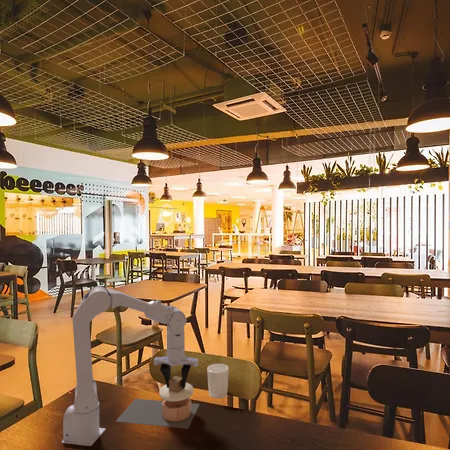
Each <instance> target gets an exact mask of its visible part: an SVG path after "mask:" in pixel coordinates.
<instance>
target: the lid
mask: <svg viewBox="0 0 450 450" xmlns="http://www.w3.org/2000/svg"><path fill="white" fill-rule="evenodd" d="M158 392H159V397H160V398H161V399H162V401H164V400H166V401H172V402H175V401H182V400H185V399H187V398H191V396H193V394H194V387H193V384H190V383H188V382H186V386H185V388H184V389H182V376H177V375H174V376H173V377H171V379H170V380H169V388H167V385H166V384H164V385H163V386H161V388H160V389H159V391H158Z"/></svg>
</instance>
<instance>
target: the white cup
mask: <svg viewBox="0 0 450 450" xmlns="http://www.w3.org/2000/svg"><path fill="white" fill-rule="evenodd" d="M229 369H230V368H229V366H228V365H227V364H224V363H213V364H210V365H208V366H207V369H206V370H207V371H206V372H207V384H208V395H209V397H211V398H213V399H223V398H226V397H227V396H228V388H229Z"/></svg>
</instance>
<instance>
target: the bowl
mask: <svg viewBox="0 0 450 450" xmlns="http://www.w3.org/2000/svg"><path fill="white" fill-rule="evenodd" d="M162 401H163V402H162V416H163V418H164V419H165V420H167V421H170V422H179V421H183V420H185V419H187V418H188V417H189V416H190V413H191V403H192V399H191V397H189V398H187V399H185V400H182V401H175V402H172V401H166V400H162Z"/></svg>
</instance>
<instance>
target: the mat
mask: <svg viewBox="0 0 450 450" xmlns="http://www.w3.org/2000/svg"><path fill="white" fill-rule="evenodd" d="M163 401H164V400H158V399H157V400H156V399H155V400H154V399H146V398H145V399H143V398H134V399H133V400H132V402H131V403H130V404H129V405H128V406H127V407H126V408H125V410H124V411H123V412H122V414H120V416H119V417H118V418H117V419H116V420H115V422H119V423H129V424H137V425H147V426H157V427H158V426H159V427H169V428H177V429H178V428H179V429H186V430H187V429H189V428H190V426H191V423H192V422H193V419H194V418H195V415H196V413H197V411H198V409H199V406H200V405H201V404H200V403H192V402H191V413H190V416H189V417H188V418H187V419H185V420H183V421H179V422H170V421H167V420H165V419H164V418H163V416H162V402H163Z"/></svg>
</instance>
